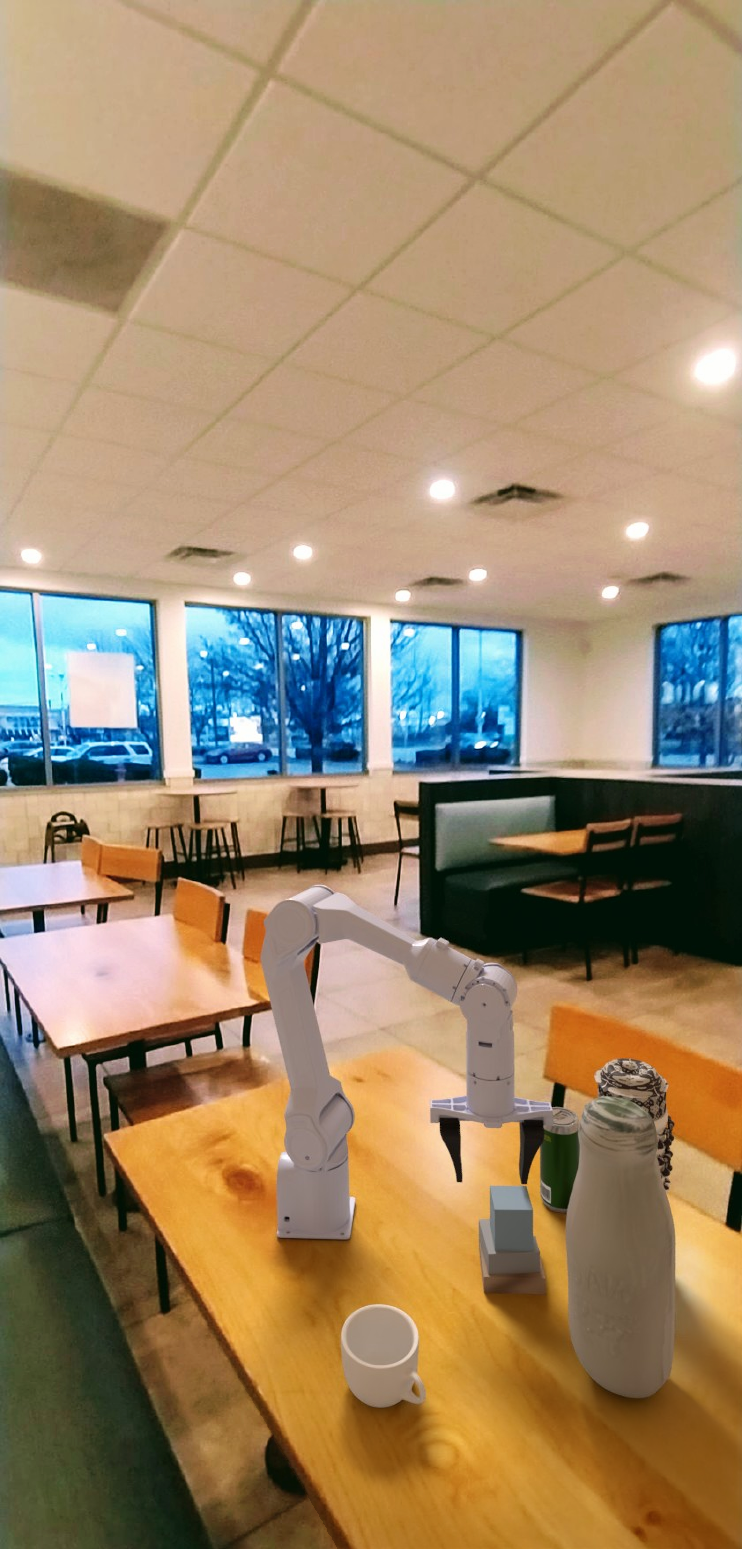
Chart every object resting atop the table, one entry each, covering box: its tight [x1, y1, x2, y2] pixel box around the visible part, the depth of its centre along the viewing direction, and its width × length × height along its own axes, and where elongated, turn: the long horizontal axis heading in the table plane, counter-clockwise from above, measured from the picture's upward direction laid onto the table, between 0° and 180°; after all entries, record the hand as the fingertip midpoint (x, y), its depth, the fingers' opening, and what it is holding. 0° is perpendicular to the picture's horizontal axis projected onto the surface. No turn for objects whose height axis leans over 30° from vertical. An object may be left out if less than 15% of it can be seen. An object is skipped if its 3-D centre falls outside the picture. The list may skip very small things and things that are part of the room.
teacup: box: [340, 1303, 427, 1409], centre depth 72 cm, size 10×8×5 cm
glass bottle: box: [565, 1096, 677, 1399], centre depth 72 cm, size 10×10×28 cm
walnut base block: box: [478, 1235, 547, 1295], centre depth 87 cm, size 7×7×2 cm
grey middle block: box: [478, 1218, 541, 1275], centre depth 87 cm, size 6×6×2 cm
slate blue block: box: [489, 1185, 534, 1251], centre depth 87 cm, size 4×4×5 cm
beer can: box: [539, 1106, 580, 1214], centre depth 100 cm, size 5×5×12 cm
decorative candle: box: [593, 1057, 675, 1194], centre depth 86 cm, size 9×9×25 cm
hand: (491, 1178), depth 89 cm, fingers open, 7 cm apart
